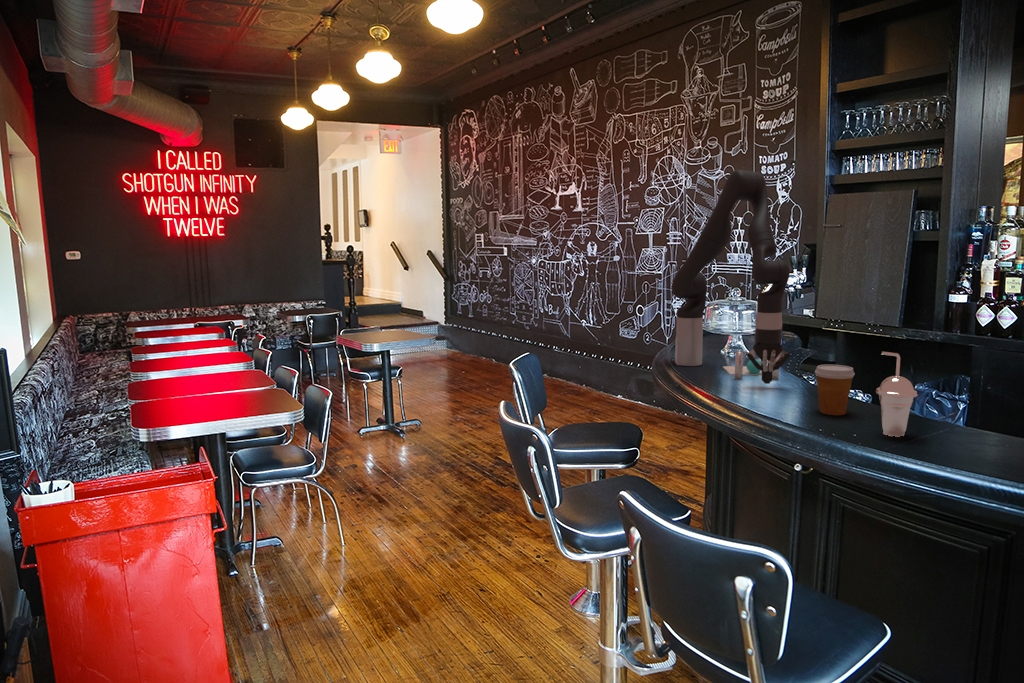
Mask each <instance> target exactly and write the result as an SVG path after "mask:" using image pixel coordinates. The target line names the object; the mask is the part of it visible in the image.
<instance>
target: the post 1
mask: <svg viewBox="0 0 1024 683" xmlns="http://www.w3.org/2000/svg"><path fill="white" fill-rule="evenodd" d="M734 353H735V357H734V358H735V359H734V366H735V375H734V380H736V381H740V380H741V381H742V380H743V375H742V374H743V366H744V351H740V350H735V352H734Z"/></svg>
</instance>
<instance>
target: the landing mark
mask: <svg viewBox="0 0 1024 683" xmlns="http://www.w3.org/2000/svg"><path fill="white" fill-rule="evenodd" d="M722 368H723V369H724V370H725V371H726V372H727V374H729V375H730V376H731V375H732V376H735V365H734V366H733V365H726V366H725V365H724V366H722ZM746 375H747V376H748V375H749V376H762V371H760V372H759V373H757V374H752V373H750V372H749V371H748V370H747V365H743V374H742V376H746Z"/></svg>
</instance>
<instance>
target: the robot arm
mask: <svg viewBox="0 0 1024 683" xmlns="http://www.w3.org/2000/svg"><path fill="white" fill-rule="evenodd" d="M738 201H745V202H749V203H750V204H751V207H752V210H753V212H752V213H753V215H752V217H751V220H750V223H749V225H748V231H747V237H748V241H749V245H750V249H751V253H752V255H751V256H752V264H751V265H752V266H751V277H752V279H753V281H754V282H755V283H756V284H758V285H771V287H770V289H768V290H767V291H763V292H760V293H759V294H758V295H757V300H756V301H757V302H756V316H755V329H754V330H755V331H754V333H755V334H754V345H753V347H752V349H751V350H750V351H749V352H746V353H745V356H746V358H748V360H749V361H751V362H752V363H753V365H754V366H755V367H756V368H757V369H758V370H761V371H762V375H761V378H760V379H761V381H762V382H763V384H768V385H769V384H771V382H772V381H773V380H772V372H773V371H774V370H778V369H779V370H780V368H781V367H782V365H784V364H785V363H786V362H787V360H789V358H790V357H791V356H790V354H789V353H788V352H786V351H785V350H783V349H784V347H783V346H782V340H783V339H782V336H783V315H782V314H783V313H782V311H783V297H784V294H785V291H786V287H787V285H788V281H789V278H790V273H791V272H790V271H791V270H790V266H789V264H788V263H787V261H785V260H782V259H776V260H775V259H774V260H773V259H772V260H771V259H770V260H766V259H768V258H770V257H772V256H774V255H775V254H776V253H777V248H778V247H777V244H776V240H775V237H774V234H773V230H772V225H771V221H770V210H769V209H770V208H769V199H768V187H767V181H766V179H765V176H764V175H763V174H762V173H760V172H758V171H753V170H747V169H746V170H745V169H735V170H733V171H732V172H731V173H730V174H729V175H728V177H727V179H726V181H725V182H724V185H723V187H722V190H721V192H720V195H719V197H718V200H717V202H716V204H715V207H714V208H713V210H712V213H711V214H710V217H709V218H708V220H707V222H706V223H705V225H704V227H703V228H702V230H701V233H700V235H699V236H698V238H697V240H696V242H695V244H694V246H693V248H692V249H691V251H690V253H689V255H688V256H687V258H686V259H685V261H684V263H683V264H682V265H681V267H680V268H679V269H678V271H677V272H676V274H675V276H674V278H673V280H672V284H671V292H672V294H673V296H674V297H676V298H678V299H686V302H685V304H683V305H682V306H680V307H678V308H677V310H676V332H675V333H676V334H675V335H676V336H675V341H674V342H675V345H674V346H675V347H674V348H675V349H674V350H675V351H674V363H675V364H676V366H682V367H683V366H685V367H697V366H702V364H703V339H704V338H703V337H704V336H703V334H704V332H703V330H704V312H705V310H706V305H707V304H706V303H707V290H708V289H707V288H708V287H707V286H708V284H707V279H706V277H705V275H704V274H703V273H702V272H701V271H702V270H703V269H704V268H705V267H706V266H708V265H709V264H710V263H712V262H713V261H714V260H715V259H717V258H718V257H719V256H720V255H721V254H722V253H723V251H724V249H725V248H726V246H727V245H728V243H729V241H730V239H731V236H732V222H731V212H732V210H733V208H734V206H735V204H736V203H737V202H738ZM755 354H756V355H755ZM779 354H780V358H779V359H778V361H777V362H776V363H775V364H774V361H775V359H776V358H777V357H778V356H779ZM756 356H757V357H758V358H759V359H760V362H761V365H759V364H758V362H757V361H756V360H755V359H756Z"/></svg>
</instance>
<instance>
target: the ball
mask: <svg viewBox="0 0 1024 683" xmlns="http://www.w3.org/2000/svg"><path fill="white" fill-rule="evenodd" d="M755 360H756V361H757V362H758V364H759V365H761V360H759V359H757V358H755ZM746 366H747V370H748V371H749V372H750V373H752V374H757V373H759V372H760V371H761V370H758V369H757V368H756V367H755V366H754V365H753V363H752V362H751V361H750V360H749V361H748V362H747V364H746Z"/></svg>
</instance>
